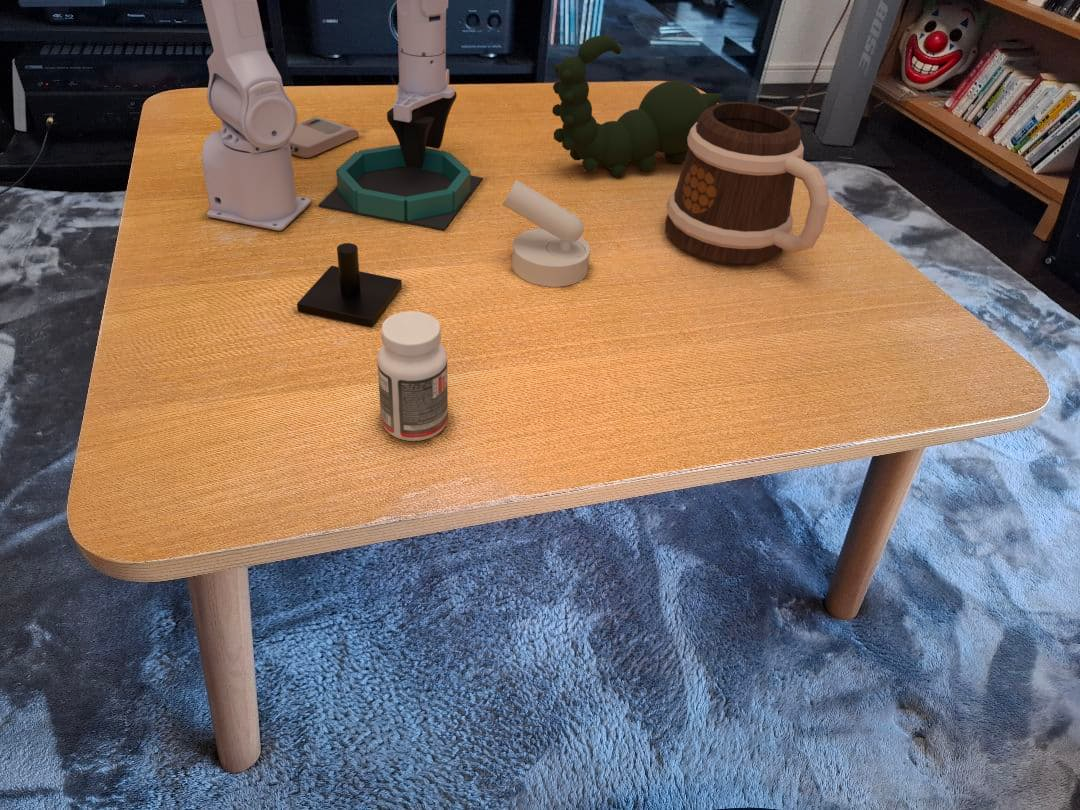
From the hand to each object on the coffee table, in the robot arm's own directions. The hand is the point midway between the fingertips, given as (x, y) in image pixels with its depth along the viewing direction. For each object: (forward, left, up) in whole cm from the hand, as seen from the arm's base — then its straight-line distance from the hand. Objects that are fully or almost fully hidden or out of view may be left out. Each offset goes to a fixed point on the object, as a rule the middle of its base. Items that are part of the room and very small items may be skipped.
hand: (423, 156), depth 113 cm
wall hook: (+21, -18, -2) cm, 28 cm away
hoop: (0, -7, -2) cm, 7 cm away
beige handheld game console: (-17, +2, -2) cm, 17 cm away
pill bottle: (+17, -48, -2) cm, 51 cm away
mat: (0, -7, -2) cm, 7 cm away
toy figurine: (+26, +13, -2) cm, 29 cm away
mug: (+42, -5, -2) cm, 42 cm away
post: (+4, -32, -2) cm, 32 cm away
